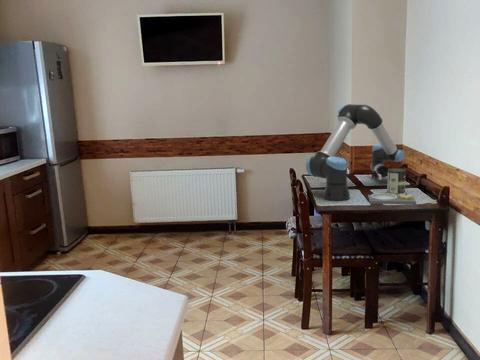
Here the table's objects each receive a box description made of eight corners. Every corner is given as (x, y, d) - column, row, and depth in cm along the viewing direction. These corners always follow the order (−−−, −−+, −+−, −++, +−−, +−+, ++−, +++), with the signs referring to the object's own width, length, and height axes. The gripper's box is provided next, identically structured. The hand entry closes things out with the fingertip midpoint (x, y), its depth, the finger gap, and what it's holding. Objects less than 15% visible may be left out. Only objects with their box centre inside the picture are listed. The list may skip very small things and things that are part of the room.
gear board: (370, 203, 255) (370, 195, 254) (368, 197, 269) (368, 189, 268) (416, 204, 251) (416, 196, 250) (411, 197, 264) (411, 189, 263)
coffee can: (403, 190, 280) (404, 168, 277) (406, 195, 270) (407, 171, 267) (386, 190, 282) (386, 168, 279) (387, 194, 272) (388, 171, 269)
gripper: (400, 175, 304) (412, 182, 283) (362, 177, 304) (371, 184, 284) (401, 164, 303) (412, 170, 282) (362, 165, 303) (371, 172, 282)
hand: (392, 177), depth 283 cm, fingers open, 13 cm apart
